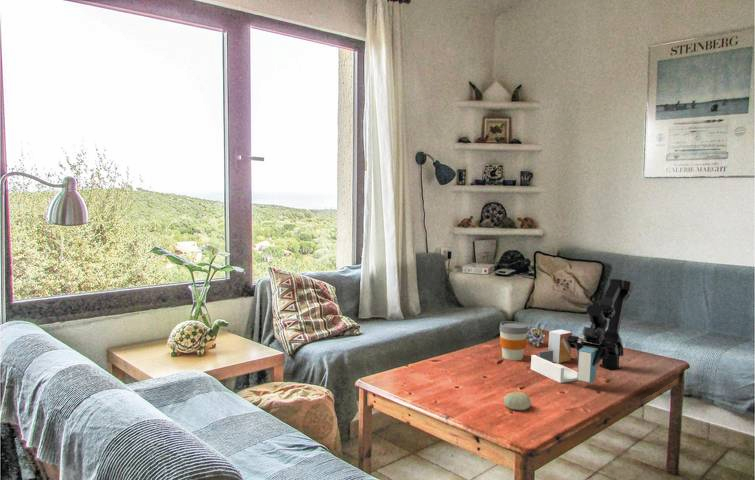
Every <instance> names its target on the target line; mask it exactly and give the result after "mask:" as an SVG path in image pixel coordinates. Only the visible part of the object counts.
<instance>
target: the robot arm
mask: <svg viewBox="0 0 755 480" xmlns="http://www.w3.org/2000/svg"><path fill="white" fill-rule="evenodd" d="M633 290H634V283H632V282H631V280H627V279H622V278H621V279H620V278H611V279H610V280H609V285H608V287H607V289H606V291H605V293H604V295H603V297H602V298H600V299H598V300H597V301H594V303H592V304H590V305H588V306H587V308H586V313H587V316H588V318H589V321H590V322H591V324H590V326H589V327H587V326H584V327H583V331H582V336H583V339H584V340H583V339H580V338H579V336H577V335H573V334H572V335H569V336H568V337H567V342H568V345H569V347H571V349H574V350H575V349H576V351H577V356H578V355H579V350H580V349H581V348H583V347H588V348H594V349H597V353H596V356H595V358H594V360H593V364H592V365H593V366H595V365H596V366H597V364H598V363H599V362H600V361H601V363H600V364H599V367H602V368H604V369H607V370H609V371H613V370H614V371H615V370H620V369H621V370H622V366H620V357H622V356H624V352H625V351H624V350H625V349H624V346H623V342H622V337H621V335H620V328H621V323H622V319H623V313H624V310H625V309H624V308H625V304H626V300H628V299H629V298H630V297H631V295H632V294H631V293H632V292H633ZM607 319H609V320H607Z"/></svg>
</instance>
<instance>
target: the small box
mask: <svg viewBox="0 0 755 480" xmlns="http://www.w3.org/2000/svg"><path fill="white" fill-rule="evenodd" d="M569 335H573V332H572V331H569V330H565V329H562V328H561V329H555V330H550V331H548V347H547V351H549V350H552V351H553V363H558V364H561V363H565V362H570V361H571V353H572V348H571V347H569V345H568V342H567V337H568V336H569Z"/></svg>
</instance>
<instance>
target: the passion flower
mask: <svg viewBox="0 0 755 480" xmlns="http://www.w3.org/2000/svg"><path fill="white" fill-rule="evenodd" d="M526 337H527V342H529V343H531V345H532V346H533V347H534V346H535V347H536V348H538V347H539V346H540V344H544V340H543V339H544V338H545V337H546V336H545V334H543V332H542V328H539V327H537V325H535V326H534V325H532V324H530V323H529V324H528V333H527V336H526Z"/></svg>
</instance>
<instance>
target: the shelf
mask: <svg viewBox="0 0 755 480" xmlns="http://www.w3.org/2000/svg"><path fill="white" fill-rule="evenodd" d="M537 354H538V355H536V354H531V355H530V356H531V357H530V359H531V360H530V370H531V371H534V372H536V373H538V374H541V375H542V376H544V377H547V378H549V379H551V380H553V381H555V382H558V383H559V384H562V383H563V384H564V383H568V382H575V381H578V380H577V375H578V370H574V369H572V368H569V367H567V366H565V365H562V364H561V363H557V362H553V351H552V350H549V351H548V350H542V351H537Z"/></svg>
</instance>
